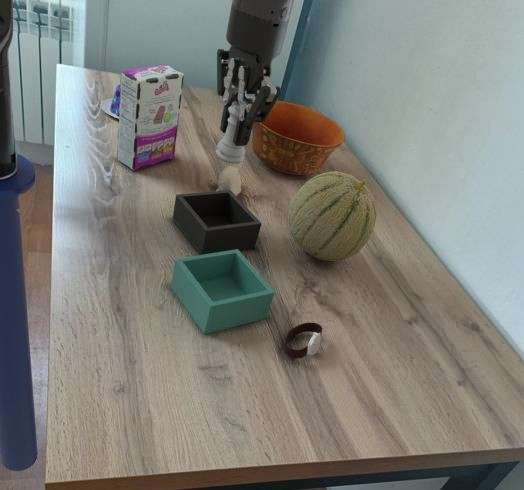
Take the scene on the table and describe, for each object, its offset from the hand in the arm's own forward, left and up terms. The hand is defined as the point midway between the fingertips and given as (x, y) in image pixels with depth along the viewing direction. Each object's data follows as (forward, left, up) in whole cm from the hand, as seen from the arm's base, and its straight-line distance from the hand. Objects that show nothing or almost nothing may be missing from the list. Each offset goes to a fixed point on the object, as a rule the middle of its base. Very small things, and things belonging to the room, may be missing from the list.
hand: (233, 137), depth 80 cm
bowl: (+31, +22, -18) cm, 41 cm away
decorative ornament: (+11, +13, -18) cm, 24 cm away
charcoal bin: (+1, +1, -18) cm, 18 cm away
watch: (0, -27, -18) cm, 33 cm away
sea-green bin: (-7, -15, -18) cm, 25 cm away
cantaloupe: (+18, -8, -18) cm, 26 cm away
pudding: (+5, +47, -18) cm, 50 cm away
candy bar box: (0, +27, -18) cm, 32 cm away
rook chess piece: (0, 0, -3) cm, 3 cm away
